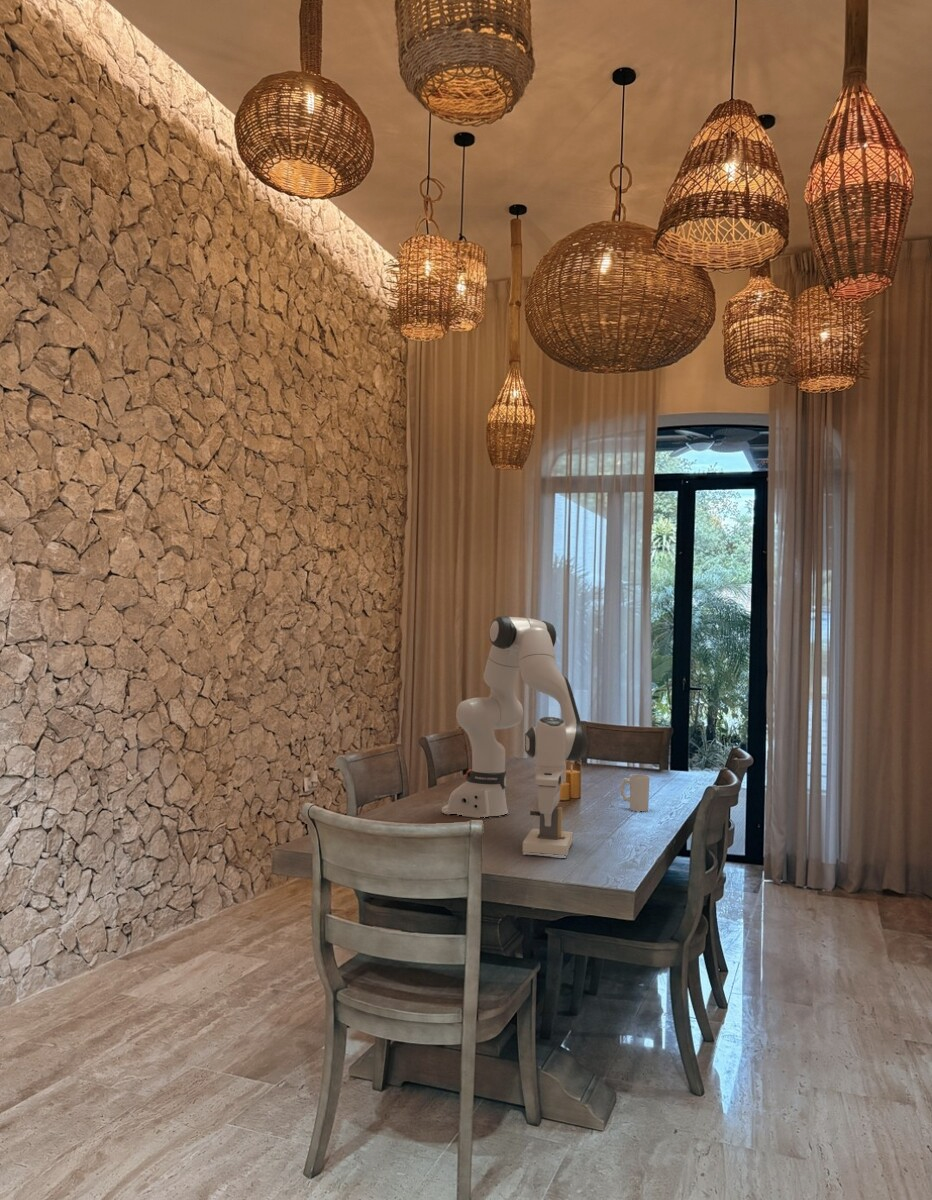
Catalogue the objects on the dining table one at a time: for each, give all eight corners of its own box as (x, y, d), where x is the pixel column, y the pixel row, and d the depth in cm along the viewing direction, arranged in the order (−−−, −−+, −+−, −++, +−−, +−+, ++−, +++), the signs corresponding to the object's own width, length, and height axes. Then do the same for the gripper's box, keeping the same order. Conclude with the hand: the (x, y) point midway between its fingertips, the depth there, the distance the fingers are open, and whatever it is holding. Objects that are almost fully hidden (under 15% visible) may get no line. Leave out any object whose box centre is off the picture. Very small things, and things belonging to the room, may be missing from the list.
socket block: (522, 855, 250) (522, 842, 250) (531, 840, 268) (532, 828, 268) (565, 858, 247) (566, 846, 247) (572, 843, 265) (572, 831, 265)
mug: (650, 809, 319) (651, 775, 320) (647, 813, 313) (647, 778, 314) (621, 806, 323) (622, 773, 323) (618, 810, 317) (618, 775, 317)
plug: (528, 835, 257) (529, 807, 257) (530, 832, 261) (531, 804, 261) (560, 838, 255) (561, 809, 255) (562, 834, 259) (562, 806, 259)
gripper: (544, 769, 269) (542, 816, 268) (534, 779, 249) (533, 830, 248) (565, 770, 268) (564, 817, 267) (557, 781, 248) (556, 832, 247)
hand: (549, 823), depth 258 cm, fingers closed on plug, 4 cm apart
